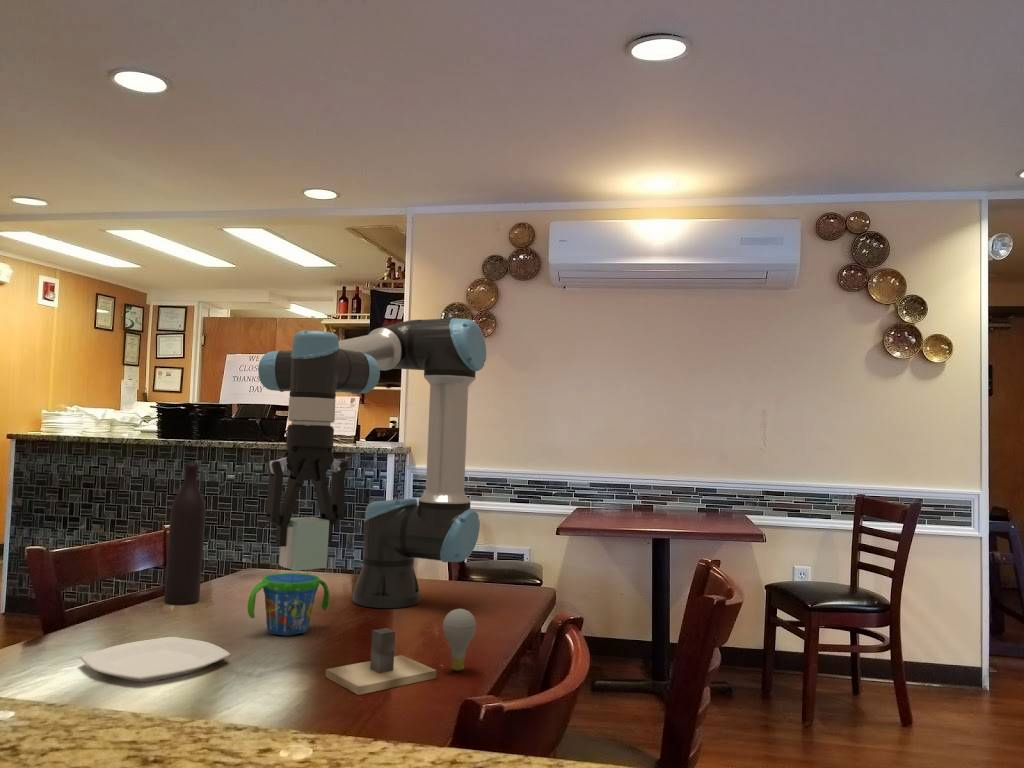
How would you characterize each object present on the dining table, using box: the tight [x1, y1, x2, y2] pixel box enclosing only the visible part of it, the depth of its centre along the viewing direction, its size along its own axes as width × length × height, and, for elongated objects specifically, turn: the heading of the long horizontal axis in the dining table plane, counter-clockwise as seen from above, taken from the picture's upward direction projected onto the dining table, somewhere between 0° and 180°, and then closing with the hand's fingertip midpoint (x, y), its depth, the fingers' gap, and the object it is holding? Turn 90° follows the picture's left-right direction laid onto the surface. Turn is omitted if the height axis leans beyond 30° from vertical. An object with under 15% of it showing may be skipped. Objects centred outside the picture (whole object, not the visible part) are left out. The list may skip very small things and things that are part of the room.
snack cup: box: [247, 572, 331, 637], centre depth 144 cm, size 16×10×10 cm
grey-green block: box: [287, 516, 329, 572], centre depth 125 cm, size 6×6×8 cm
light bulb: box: [442, 608, 477, 673], centre depth 124 cm, size 5×6×10 cm
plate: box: [80, 636, 231, 683], centre depth 121 cm, size 19×19×2 cm
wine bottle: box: [163, 462, 206, 606], centre depth 166 cm, size 7×7×30 cm
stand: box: [325, 627, 437, 696], centre depth 119 cm, size 14×10×7 cm
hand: (303, 564), depth 125 cm, fingers closed on grey-green block, 6 cm apart
